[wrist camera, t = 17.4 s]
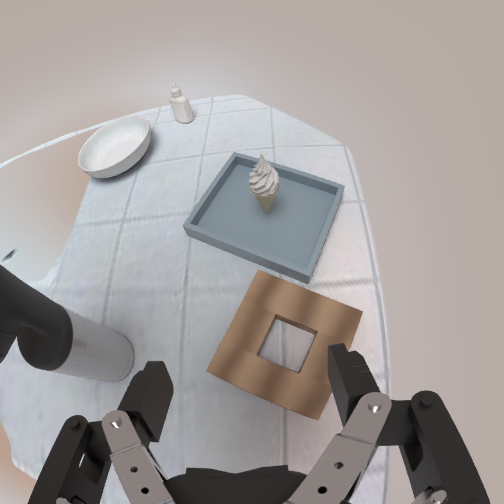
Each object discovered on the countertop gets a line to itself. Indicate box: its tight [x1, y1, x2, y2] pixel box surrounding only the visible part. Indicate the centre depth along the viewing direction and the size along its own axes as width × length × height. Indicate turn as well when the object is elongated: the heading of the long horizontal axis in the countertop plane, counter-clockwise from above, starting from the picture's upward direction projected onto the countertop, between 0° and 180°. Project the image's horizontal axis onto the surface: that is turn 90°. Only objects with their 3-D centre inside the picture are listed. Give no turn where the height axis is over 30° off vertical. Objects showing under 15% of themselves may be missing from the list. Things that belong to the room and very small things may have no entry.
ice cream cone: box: [249, 155, 280, 214], centre depth 47 cm, size 5×5×15 cm
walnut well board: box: [207, 270, 363, 420], centre depth 42 cm, size 18×18×3 cm
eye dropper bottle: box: [169, 84, 194, 123], centre depth 66 cm, size 4×6×12 cm
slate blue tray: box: [183, 152, 345, 284], centre depth 53 cm, size 24×20×4 cm
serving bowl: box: [78, 115, 151, 178], centre depth 64 cm, size 21×21×7 cm
